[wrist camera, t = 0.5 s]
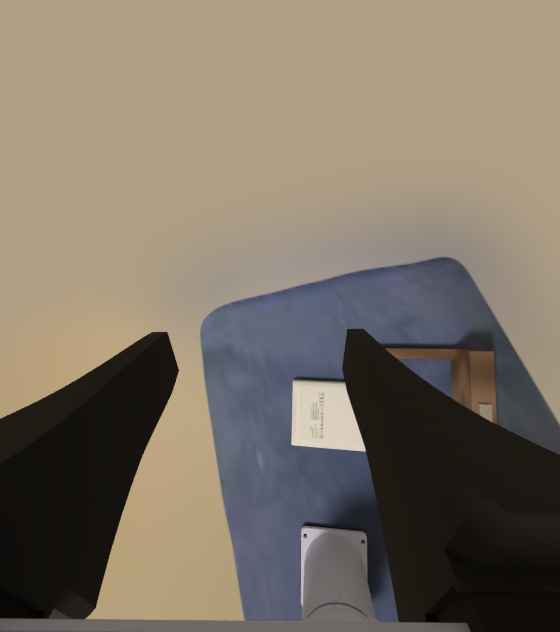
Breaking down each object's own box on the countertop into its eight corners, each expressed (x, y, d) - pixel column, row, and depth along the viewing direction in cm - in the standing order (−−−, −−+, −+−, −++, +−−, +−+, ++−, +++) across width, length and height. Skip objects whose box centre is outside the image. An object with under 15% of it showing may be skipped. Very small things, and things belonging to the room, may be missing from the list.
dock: (477, 494, 31) (502, 519, 27) (373, 485, 33) (382, 508, 28) (471, 349, 32) (495, 351, 28) (371, 347, 34) (380, 349, 29)
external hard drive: (389, 448, 33) (292, 441, 35) (389, 383, 34) (293, 378, 35) (393, 454, 32) (291, 446, 33) (393, 386, 32) (292, 381, 34)
